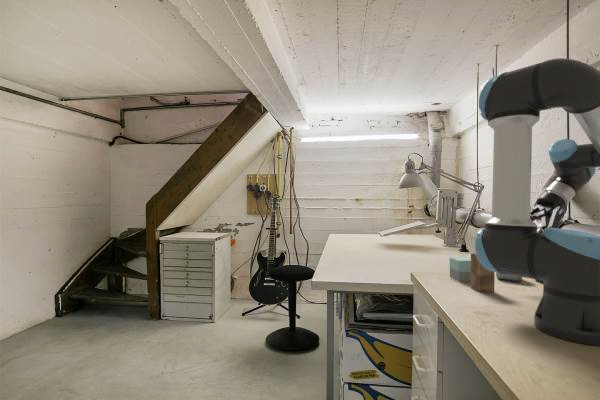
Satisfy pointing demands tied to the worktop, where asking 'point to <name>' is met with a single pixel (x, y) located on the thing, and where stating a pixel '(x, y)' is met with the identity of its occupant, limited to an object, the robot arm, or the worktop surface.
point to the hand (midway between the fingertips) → (513, 243)
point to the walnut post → (481, 276)
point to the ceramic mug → (508, 277)
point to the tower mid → (460, 264)
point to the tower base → (460, 275)
